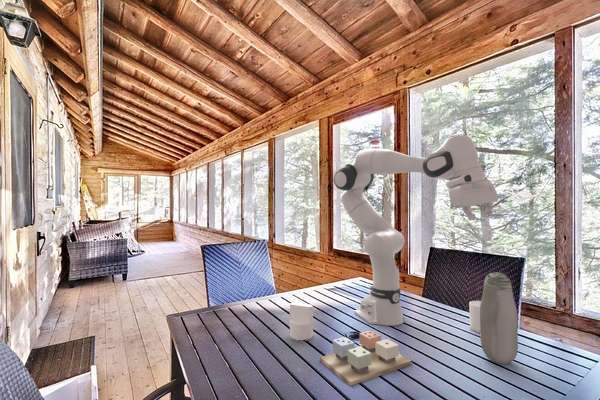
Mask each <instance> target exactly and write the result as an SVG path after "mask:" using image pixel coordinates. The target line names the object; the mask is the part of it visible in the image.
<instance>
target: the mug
mask: <svg viewBox="0 0 600 400" xmlns="http://www.w3.org/2000/svg"><path fill="white" fill-rule="evenodd" d="M480 304H481V300H472V301H469V303H468V306H469V307H468V308H469V327H470V330H472V331H473V332H476V333H478V334H479V333H480Z"/></svg>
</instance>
